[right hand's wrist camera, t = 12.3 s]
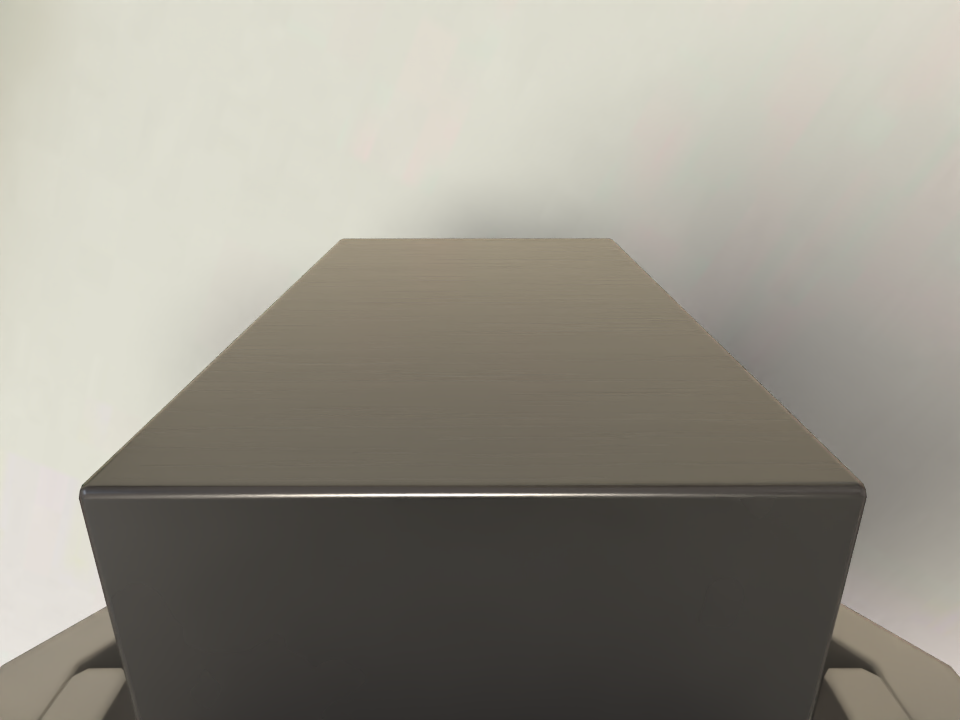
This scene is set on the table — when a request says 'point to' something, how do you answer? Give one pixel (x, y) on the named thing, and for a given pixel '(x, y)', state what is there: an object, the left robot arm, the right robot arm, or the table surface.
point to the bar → (473, 506)
